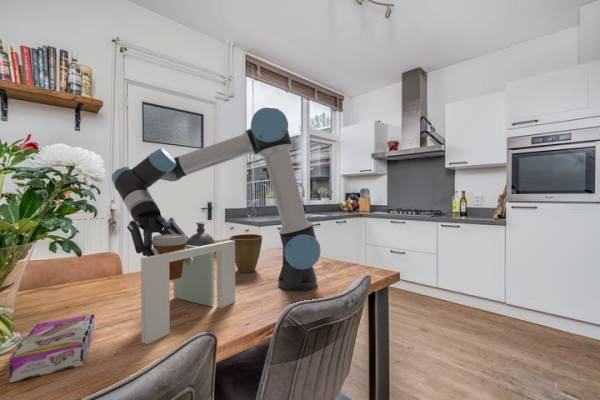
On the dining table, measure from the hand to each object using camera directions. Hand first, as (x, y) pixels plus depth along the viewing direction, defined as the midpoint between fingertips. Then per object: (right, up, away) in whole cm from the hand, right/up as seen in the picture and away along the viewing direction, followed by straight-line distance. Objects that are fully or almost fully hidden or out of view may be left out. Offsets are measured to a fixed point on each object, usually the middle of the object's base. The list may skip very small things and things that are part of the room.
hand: (177, 266), depth 78 cm
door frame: (+5, -15, 0) cm, 16 cm away
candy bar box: (-22, -12, -11) cm, 28 cm away
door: (0, -14, +12) cm, 19 cm away
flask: (-13, -14, +55) cm, 58 cm away
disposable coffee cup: (-3, -4, +2) cm, 5 cm away
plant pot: (+10, -14, +50) cm, 53 cm away
